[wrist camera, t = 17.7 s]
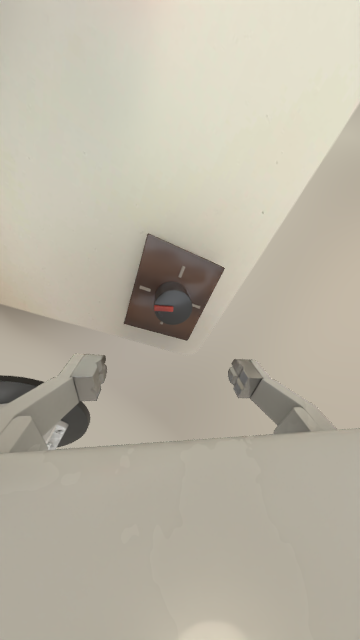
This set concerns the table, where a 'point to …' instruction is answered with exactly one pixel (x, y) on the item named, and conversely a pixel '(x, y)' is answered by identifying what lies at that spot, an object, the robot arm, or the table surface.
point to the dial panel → (167, 266)
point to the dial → (172, 303)
